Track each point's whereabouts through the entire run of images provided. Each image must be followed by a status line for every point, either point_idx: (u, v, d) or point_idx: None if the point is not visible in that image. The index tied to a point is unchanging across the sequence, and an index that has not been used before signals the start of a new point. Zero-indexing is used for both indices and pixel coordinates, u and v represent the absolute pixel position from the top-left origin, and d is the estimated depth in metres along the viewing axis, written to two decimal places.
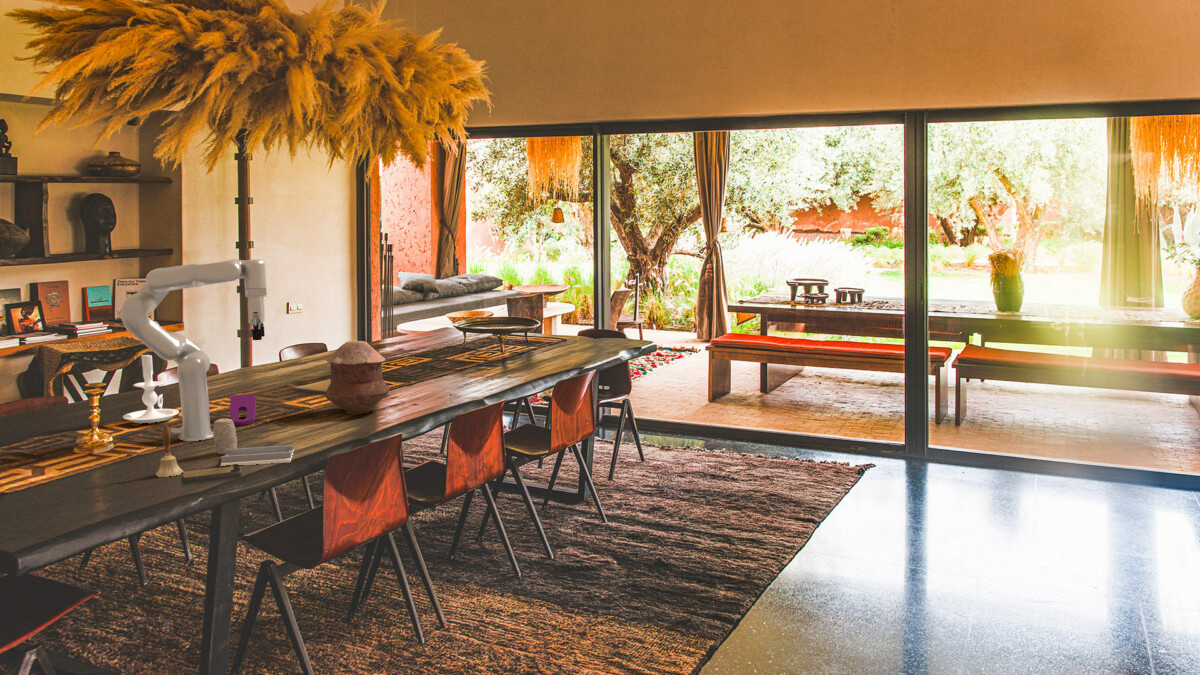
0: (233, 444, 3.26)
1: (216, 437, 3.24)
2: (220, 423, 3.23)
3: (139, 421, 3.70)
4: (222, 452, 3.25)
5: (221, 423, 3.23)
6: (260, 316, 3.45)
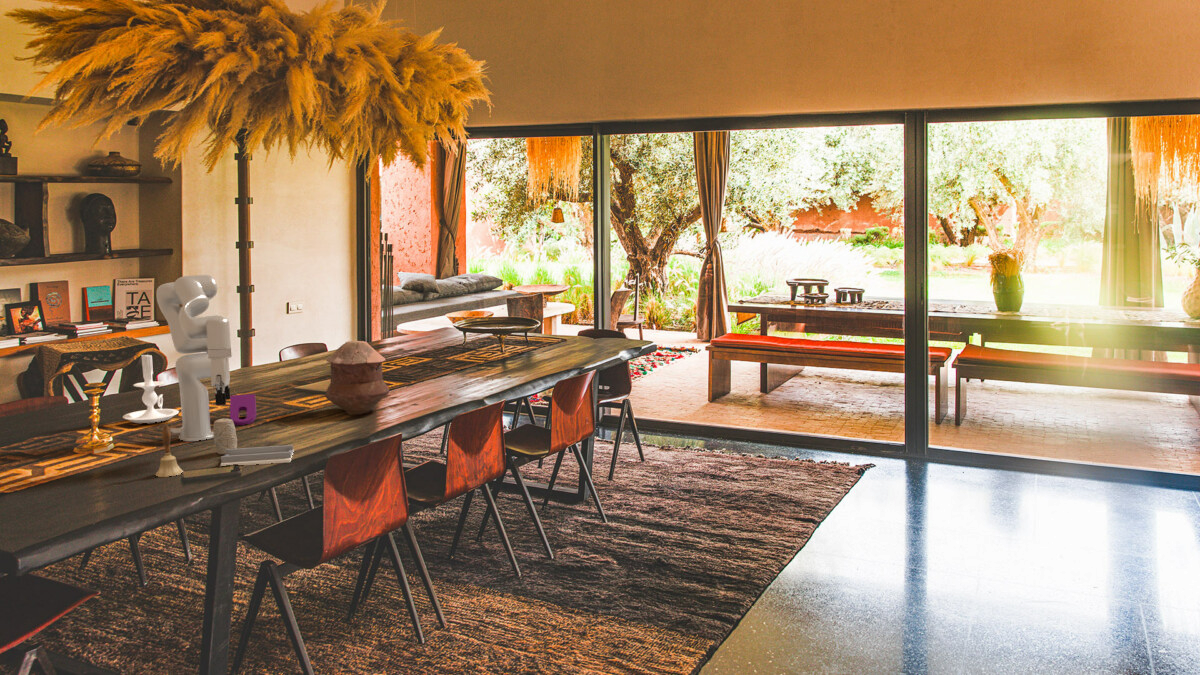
0: (233, 444, 3.26)
1: (216, 437, 3.24)
2: (220, 423, 3.23)
3: (139, 421, 3.70)
4: (222, 452, 3.25)
5: (221, 423, 3.23)
6: (224, 379, 3.19)
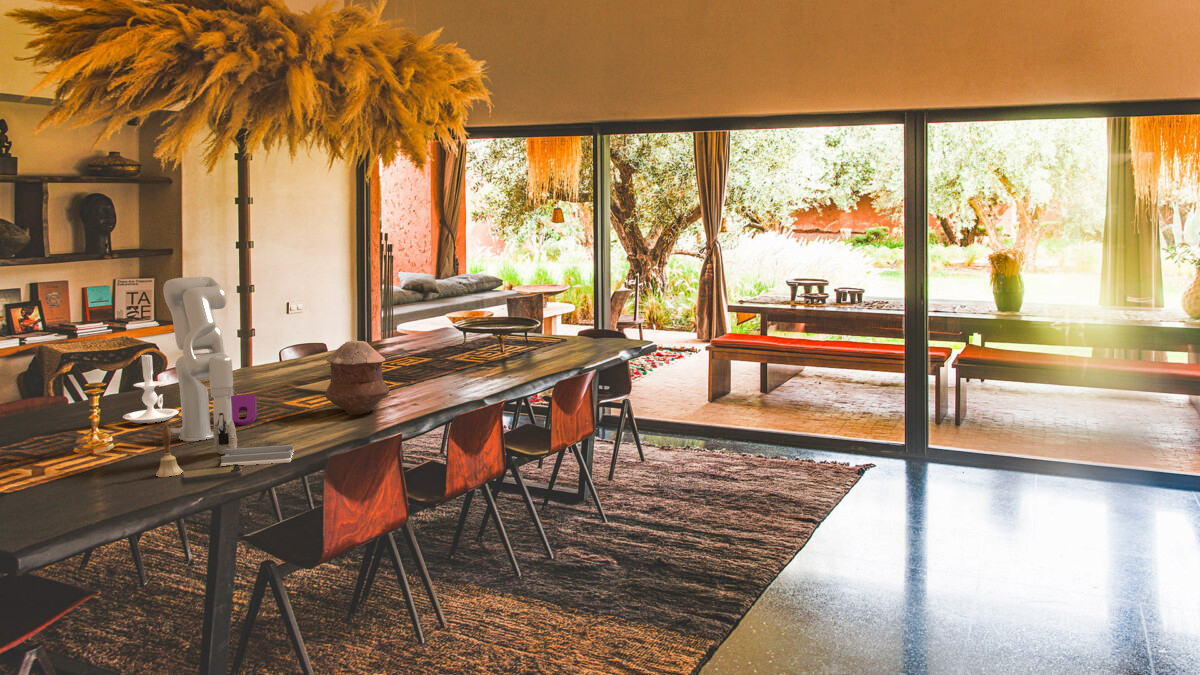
0: (233, 444, 3.26)
1: (216, 437, 3.24)
2: None
3: (139, 421, 3.70)
4: (222, 452, 3.25)
5: None
6: (226, 417, 3.21)
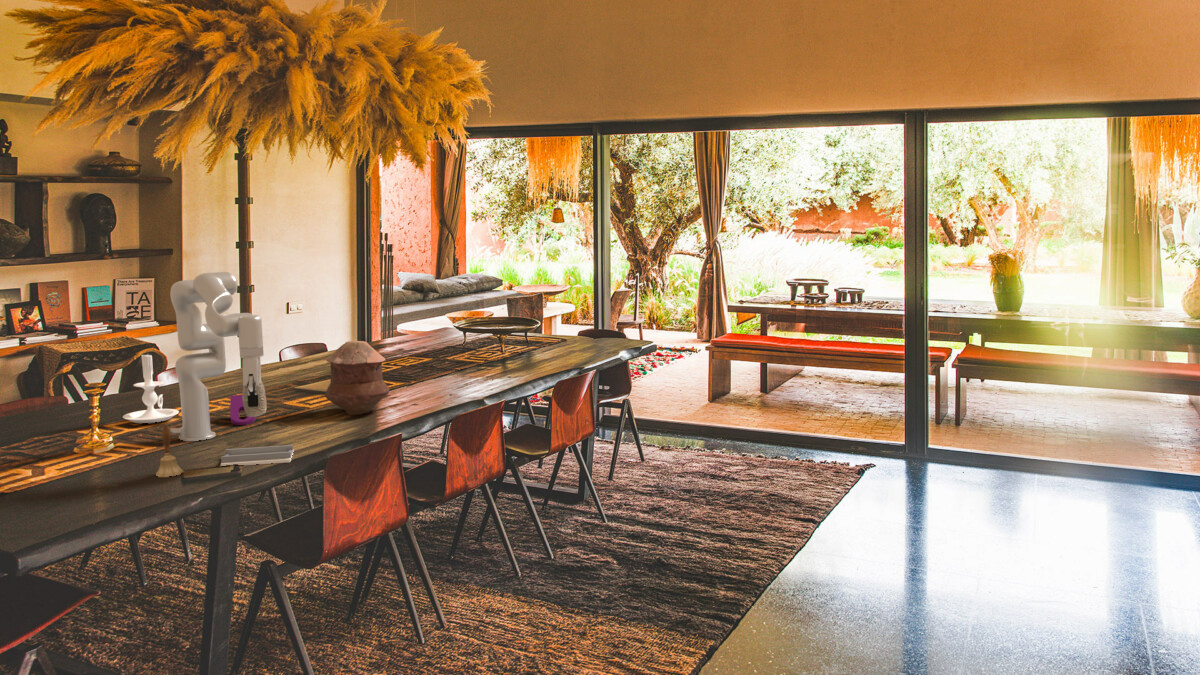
0: (263, 406, 3.15)
1: (245, 399, 3.13)
2: None
3: (139, 421, 3.70)
4: (251, 414, 3.14)
5: None
6: (256, 378, 3.11)
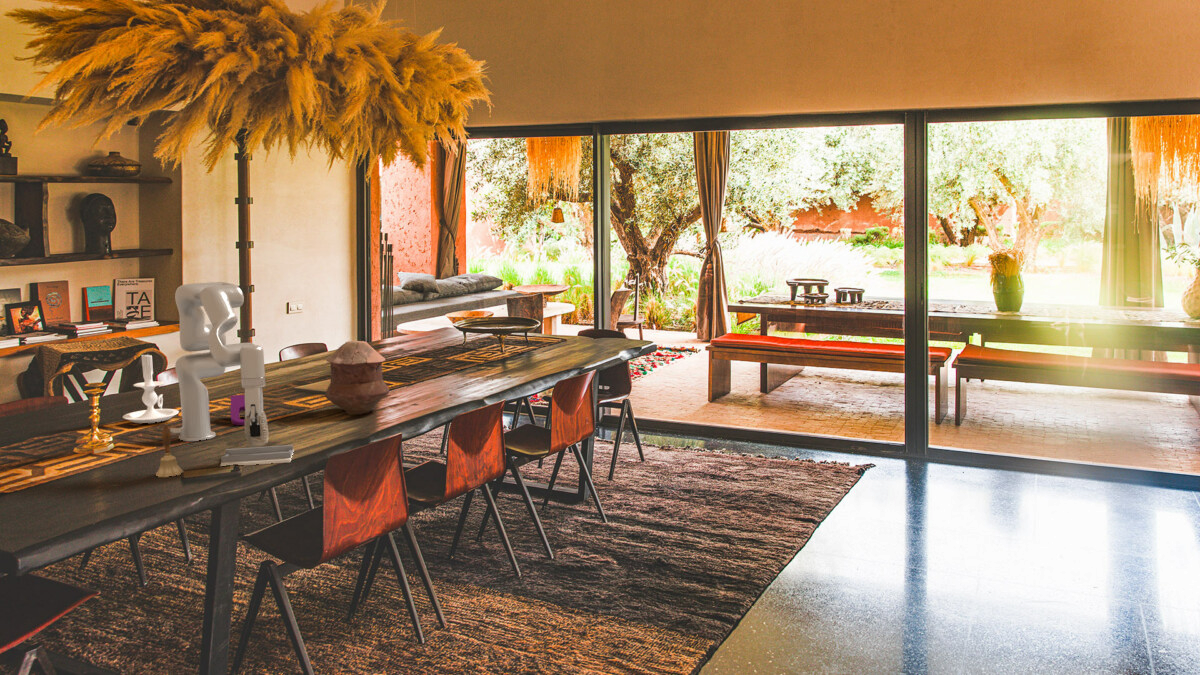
0: (265, 436, 3.16)
1: (247, 429, 3.14)
2: None
3: (139, 421, 3.70)
4: (253, 444, 3.15)
5: None
6: (258, 409, 3.12)
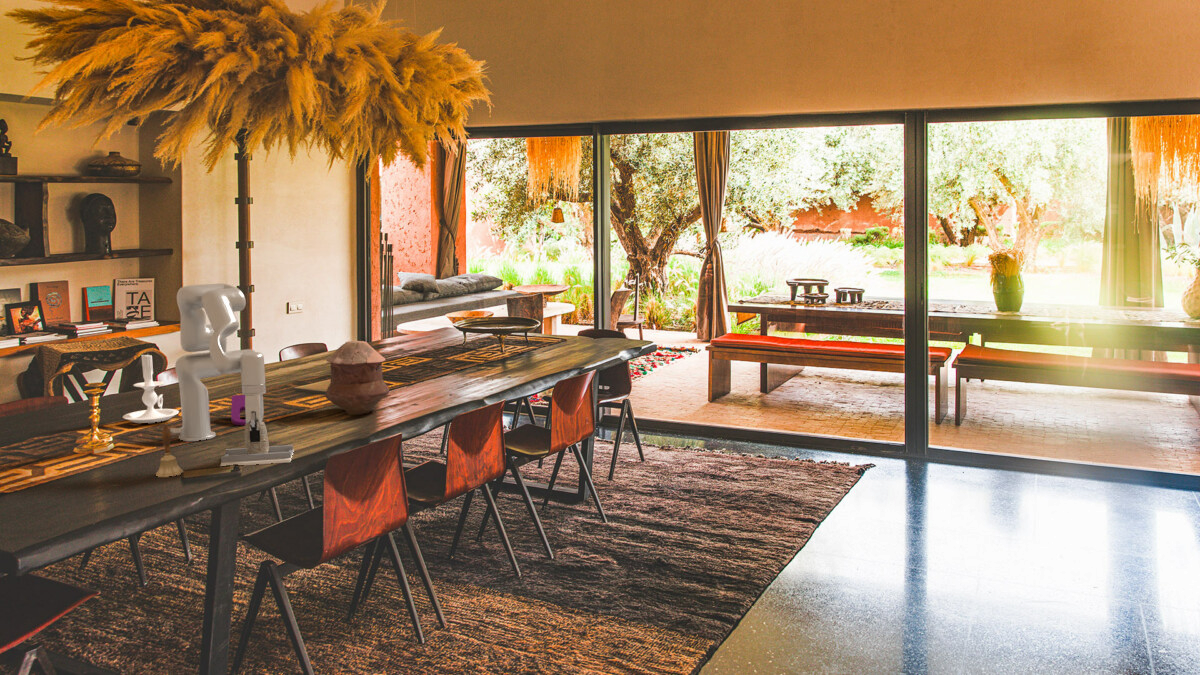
0: (265, 447, 3.17)
1: (248, 440, 3.15)
2: None
3: (139, 421, 3.70)
4: None
5: None
6: (258, 416, 3.12)
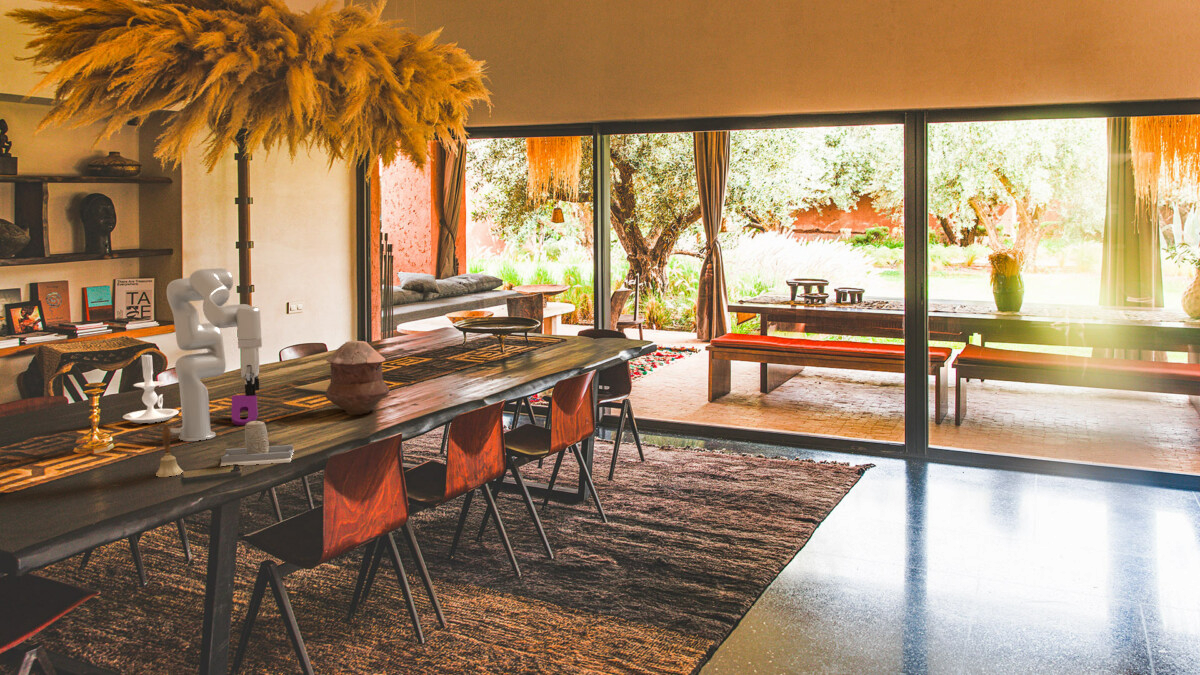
0: (265, 447, 3.17)
1: (248, 440, 3.15)
2: (252, 426, 3.14)
3: (139, 421, 3.70)
4: None
5: (253, 426, 3.14)
6: (254, 370, 3.13)
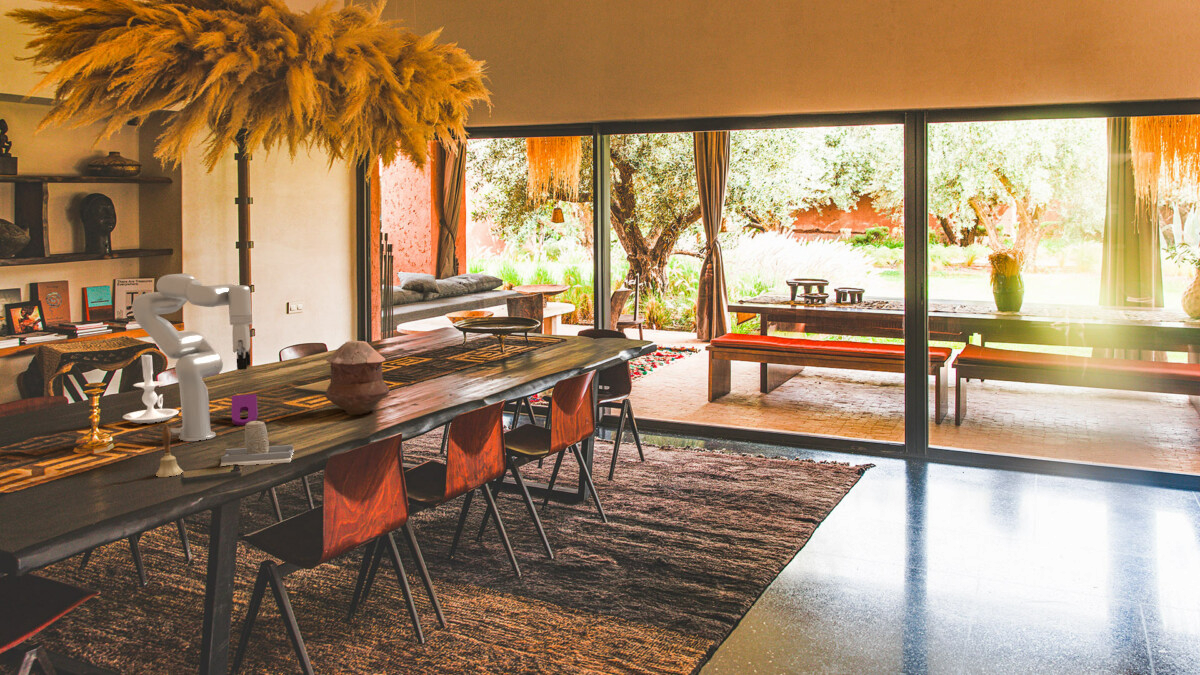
0: (265, 447, 3.17)
1: (248, 440, 3.15)
2: (252, 426, 3.14)
3: (139, 421, 3.70)
4: None
5: (253, 426, 3.14)
6: (245, 344, 3.31)
